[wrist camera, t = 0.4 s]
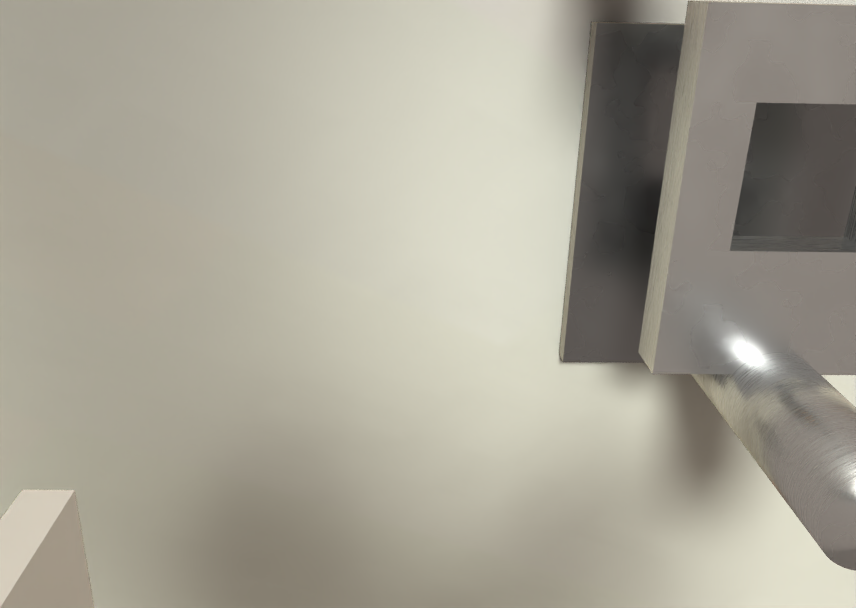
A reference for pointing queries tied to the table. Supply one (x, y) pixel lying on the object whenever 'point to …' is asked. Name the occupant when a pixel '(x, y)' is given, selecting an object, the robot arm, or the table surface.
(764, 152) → the square hole plate
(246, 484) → the table surface
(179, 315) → the table surface
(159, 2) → the table surface
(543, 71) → the table surface
